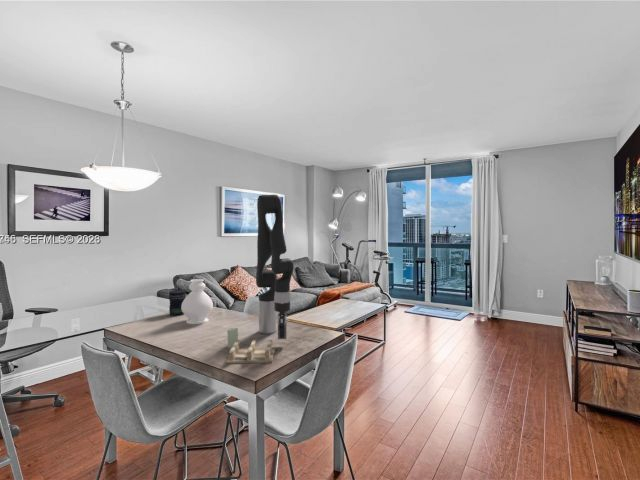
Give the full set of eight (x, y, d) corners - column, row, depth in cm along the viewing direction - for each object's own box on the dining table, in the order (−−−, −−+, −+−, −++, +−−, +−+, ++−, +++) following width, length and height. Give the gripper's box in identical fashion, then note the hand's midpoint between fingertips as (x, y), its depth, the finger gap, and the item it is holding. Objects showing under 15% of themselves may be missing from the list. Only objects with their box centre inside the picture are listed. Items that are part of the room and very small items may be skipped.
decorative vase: (188, 317, 211) (188, 277, 210) (216, 317, 211) (216, 277, 210) (176, 325, 193) (175, 282, 192) (207, 325, 193) (207, 282, 192)
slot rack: (233, 350, 155) (233, 340, 155) (275, 349, 156) (275, 339, 155) (225, 363, 140) (225, 352, 140) (271, 362, 141) (271, 352, 140)
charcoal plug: (278, 336, 163) (278, 320, 162) (286, 336, 163) (286, 319, 162) (277, 339, 159) (277, 322, 158) (286, 339, 159) (286, 322, 158)
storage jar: (187, 314, 216) (186, 291, 216) (170, 316, 211) (170, 293, 210) (184, 311, 225) (183, 289, 224) (168, 313, 219) (167, 290, 219)
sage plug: (229, 344, 162) (229, 328, 162) (237, 344, 162) (237, 328, 162) (227, 347, 158) (227, 330, 158) (236, 347, 158) (236, 330, 158)
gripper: (275, 297, 167) (275, 331, 168) (273, 304, 152) (273, 341, 153) (290, 297, 167) (290, 330, 168) (290, 304, 153) (289, 341, 154)
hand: (282, 335), depth 161 cm, fingers closed on charcoal plug, 4 cm apart
